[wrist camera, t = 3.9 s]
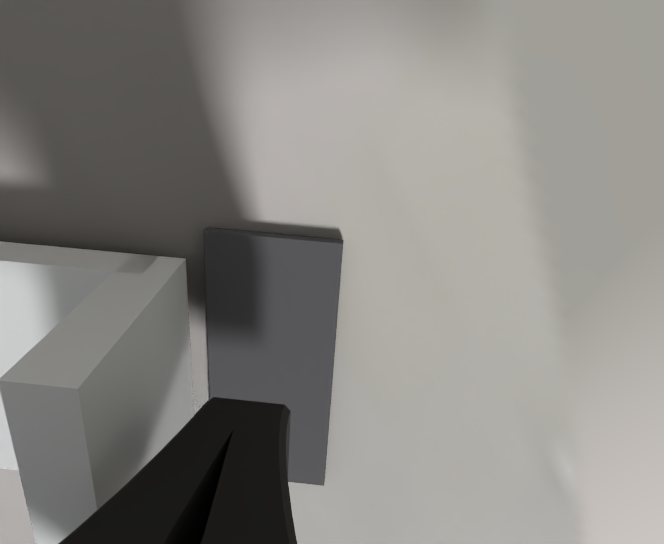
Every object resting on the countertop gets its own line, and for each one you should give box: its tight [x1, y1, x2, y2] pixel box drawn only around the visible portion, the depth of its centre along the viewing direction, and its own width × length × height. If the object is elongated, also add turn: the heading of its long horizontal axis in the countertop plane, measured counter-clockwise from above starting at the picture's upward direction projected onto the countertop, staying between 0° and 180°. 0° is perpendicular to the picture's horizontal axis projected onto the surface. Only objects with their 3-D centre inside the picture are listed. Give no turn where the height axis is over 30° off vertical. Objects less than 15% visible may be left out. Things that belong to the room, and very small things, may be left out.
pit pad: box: [204, 228, 343, 485], centre depth 11 cm, size 6×3×1 cm, turn 176°
